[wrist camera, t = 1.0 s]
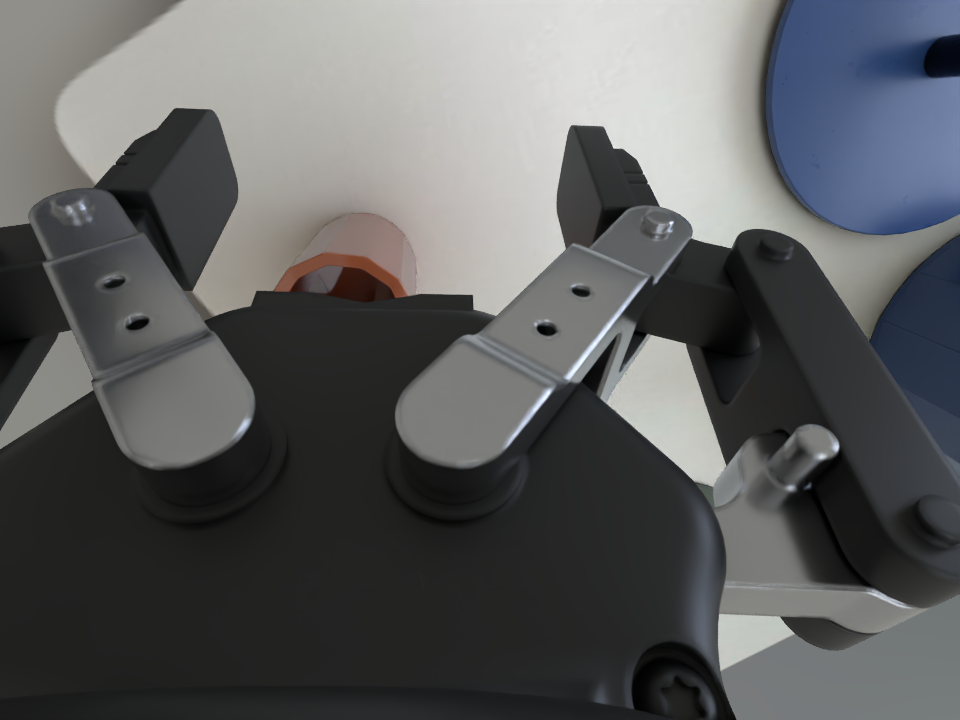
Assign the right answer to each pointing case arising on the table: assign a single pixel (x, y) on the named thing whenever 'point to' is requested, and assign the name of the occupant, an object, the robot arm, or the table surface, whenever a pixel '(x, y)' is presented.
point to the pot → (928, 345)
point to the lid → (868, 111)
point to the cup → (355, 261)
